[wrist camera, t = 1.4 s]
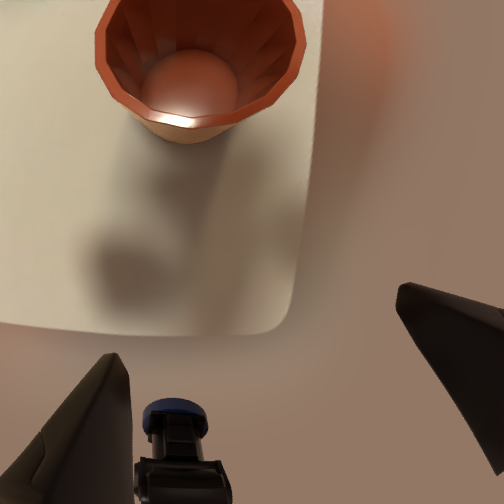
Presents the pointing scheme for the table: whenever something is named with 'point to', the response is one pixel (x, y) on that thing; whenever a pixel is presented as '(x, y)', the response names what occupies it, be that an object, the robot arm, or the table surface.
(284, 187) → the table surface
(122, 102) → the tumbler
